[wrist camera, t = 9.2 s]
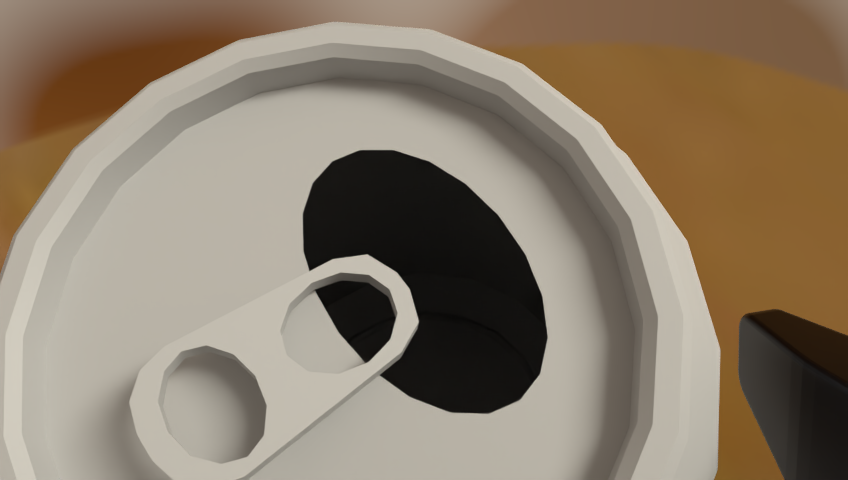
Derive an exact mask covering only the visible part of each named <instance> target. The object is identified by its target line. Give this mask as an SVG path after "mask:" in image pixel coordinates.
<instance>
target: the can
mask: <svg viewBox="0 0 848 480" xmlns="http://www.w3.org/2000/svg"><path fill="white" fill-rule="evenodd" d="M719 381H720V347H719V344H718V340H717V337H716V334H715V331H714V327H713V324H712V321H711V317H710V314H709V311H708V308H707V304H706V301H705V298H704V295H703V291H702V288H701V285H700V281H699V278H698V275H697V272H696V268H695V265H694V262H693V258H692V255H691V252H690V249H689V245H688V242H687V240H686V239H685V237H684V236H683V235H682V233H681V232H680V230H679V229H678V227H677V226H676V224H675V223H674V222H673V220H672V219H671V217H670V216H669V214H668V213H667V212H666V210H665V209H664V207H663V206H662V204H661V203H660V201H659V200H658V199H657V197H656V196H655V194H654V193H653V191H652V190H651V189H650V187H649V186H648V184H647V183H646V181H645V180H644V179H643V177H642V176H641V174H640V173H639V171H638V170H637V168H636V167H635V166H634V164H633V163H632V161H631V160H630V158H629V157H628V156H627V154H626V153H624V152H623V151H622V150H621V149H619V148H618V147H617V146H616V145H615V144H614V142H613V141H612V139H611V138H610V136H609V135H608V134H607V132H606V131H605V129H604V128H603V126H602V125H601V124H600V123H598V122H597V121H596V120H594V119H593V118H592V117H590V116H589V115H588V114H587V113H585V112H584V111H583V110H581V109H580V108H579V107H577V106H576V105H575V104H574V103H572V102H571V101H570V100H568V99H567V98H566V97H564V96H563V95H562V94H561V93H559V92H558V91H557V90H555V89H554V88H553V87H552V86H550V85H549V84H548V83H546V82H545V81H544V80H542V79H541V78H540V77H539V76H537V75H536V74H535V73H533V72H532V71H531V70H529V69H528V68H527V67H526V66H524V65H523V64H521V63H518V62H516V61H513V60H510V59H508V58H505V57H503V56H500V55H497V54H495V53H492V52H489V51H487V50H484V49H481V48H479V47H476V46H473V45H471V44H468V43H465V42H463V41H460V40H457V39H455V38H452V37H449V36H447V35H444V34H442V33H439V32H436V31H434V30H431V29H419V28H407V27H394V26H380V25H368V24H356V23H344V22H330V23H325V24H320V25H315V26H310V27H305V28H300V29H294V30H289V31H284V32H278V33H273V34H268V35H263V36H257V37H252V38H247V39H242V40H238V41H236V42H234V43H232V44H230V45H228V46H226V47H223V48H221V49H219V50H217V51H215V52H213V53H211V54H209V55H207V56H205V57H203V58H201V59H199V60H197V61H195V62H192V63H190V64H188V65H186V66H184V67H182V68H180V69H178V70H176V71H174V72H172V73H170V74H168V75H166V76H163V77H161V78H159V79H157V80H155V81H153V82H151V83H149V84H148V85H147V86H146V87H145V88H143V89H142V90H141V91H140V92H139V93H138V94H137V95H135V96H134V97H133V98H132V99H131V100H129V101H128V102H127V103H126V104H125V105H124V106H122V107H121V108H120V109H119V110H118V111H117V112H115V113H114V114H113V115H112V116H111V117H110V118H108V119H107V120H106V121H105V122H104V123H103V124H101V125H100V126H99V127H98V128H97V129H96V130H94V131H93V132H92V133H91V134H90V135H89V136H87V137H86V138H85V139H84V140H83V141H82V142H80V143H79V144H78V145H77V146H76V147H75V148H73V149H72V151H71V152H70V154H69V155H68V157H67V158H66V160H65V161H64V163H63V164H62V165H61V167H60V168H59V170H58V171H57V173H56V174H55V176H54V177H53V179H52V180H51V182H50V183H49V184H48V186H47V187H46V189H45V190H44V192H43V193H42V195H41V196H40V198H39V199H38V201H37V202H36V203H35V205H34V206H33V208H32V209H31V211H30V212H29V214H28V215H27V217H26V218H25V220H24V221H23V223H22V224H21V225H20V227H19V228H18V230H17V231H16V233H15V234H14V236H13V239H12V242H11V245H10V248H9V250H8V253H7V256H6V259H5V262H4V265H3V268H2V271H1V274H0V480H714V478H715V475H716V472H717V466H718V423H719Z"/></svg>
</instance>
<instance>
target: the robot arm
mask: <svg viewBox="0 0 848 480" xmlns="http://www.w3.org/2000/svg"><path fill="white" fill-rule="evenodd" d="M738 372H739V380H740V384H741V387H742V390H743V393H744V395H745V397H746V399H747V401H748V403H749V405H750V407H751V410H752V412H753V414H754V416H755V418H756V420H757V422H758V424H759V426H760V429H761V431H762V433H763V435H764V437H765V439H766V441H767V443H768V445H769V448H770V450H771V452H772V454H773V456H774V458H775V460H776V462H777V465H778V467H779V469H780V471H781V473H782V475H783V477H784V479H785V480H848V336H847V335H845V334H842V333H839V332H837V331H834V330H832V329H829V328H826V327H824V326H821V325H818V324H816V323H813V322H811V321H808V320H805V319H803V318H800V317H797V316H795V315H792V314H790V313H787V312H784V311H782V310H778V309H771V310H765V311H759V312H753V313H748V314H745V315H744V316H743V317H742V318H741V321H740V325H739V366H738Z"/></svg>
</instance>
